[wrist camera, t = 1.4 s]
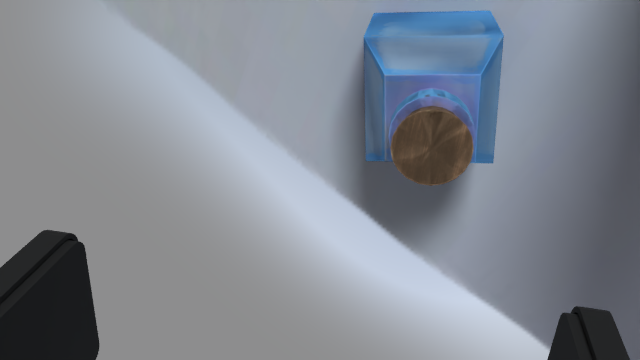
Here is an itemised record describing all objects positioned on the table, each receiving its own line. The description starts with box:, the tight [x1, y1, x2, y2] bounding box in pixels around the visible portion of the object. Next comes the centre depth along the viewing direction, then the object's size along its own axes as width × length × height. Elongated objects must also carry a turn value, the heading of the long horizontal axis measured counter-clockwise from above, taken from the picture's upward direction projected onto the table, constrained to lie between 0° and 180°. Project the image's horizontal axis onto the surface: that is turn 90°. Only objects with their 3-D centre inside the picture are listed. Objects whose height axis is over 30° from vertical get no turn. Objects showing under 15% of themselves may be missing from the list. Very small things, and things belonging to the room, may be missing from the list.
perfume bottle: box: [364, 11, 504, 186], centre depth 28 cm, size 6×6×12 cm
